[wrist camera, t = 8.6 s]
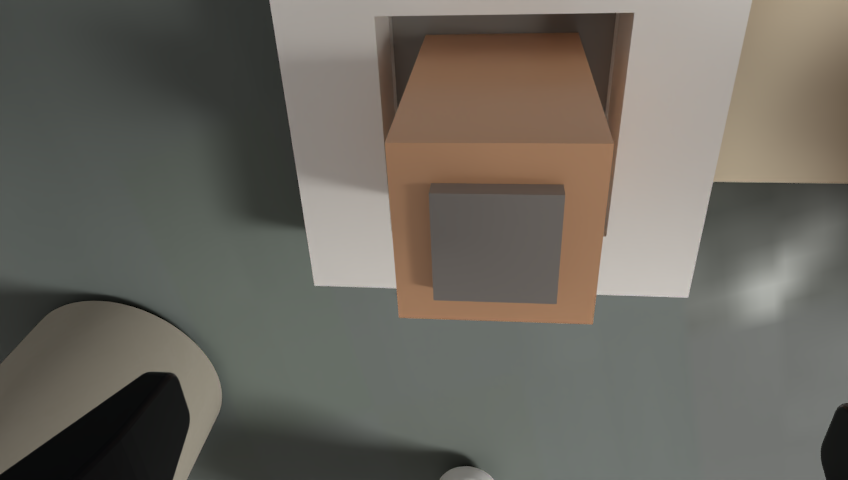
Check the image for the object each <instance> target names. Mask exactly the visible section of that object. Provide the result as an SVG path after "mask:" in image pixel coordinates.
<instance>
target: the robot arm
mask: <svg viewBox="0 0 848 480" xmlns="http://www.w3.org/2000/svg"><path fill="white" fill-rule="evenodd" d="M189 424H190V413H189V409H188V406H187V403H186V400H185V397H184V393H183V390H182V387H181V384H180V381H179V379H178V377H177V376H176V375H175V374H174V373H171V372H146V373H144V374H142V375H141V376H139V377H138V378H136V379H135V380H133V381H132V382H131V383H129V384H128V385H126V386H125V387H123V388H122V389H121V390H119V391H118V392H116V393H115V394H114V395H112V396H111V397H109V398H108V399H106V400H105V401H104V402H102V403H101V404H99V405H98V406H96V407H95V408H94V409H92V410H91V411H89V412H88V413H87V414H85V415H84V416H82V417H81V418H79V419H78V420H77V421H75V422H74V423H72V424H71V425H69V426H68V427H67V428H65V429H64V430H62V431H61V432H60V433H58V434H57V435H55V436H54V437H52V438H51V439H50V440H48V441H47V442H45V443H44V444H42V445H41V446H40V447H38V448H37V449H35V450H34V451H33V452H31V453H30V454H28V455H27V456H25V457H24V458H23V459H21V460H20V461H18V462H17V463H15V464H14V465H13V466H11V467H10V468H8V469H7V470H6V471H4V472H3V473H1V474H0V480H173V478H174V475H175V471H176V468H177V465H178V462H179V459H180V455H181V452H182V449H183V446H184V442H185V439H186V436H187V433H188V429H189ZM821 462H822V466H823V470H824V473H825V477H826V480H848V403H844V404H842V405H840V406H839V407H838V408H837V410H836V411H835V414H834V416H833V419H832V421H831V424H830V426H829V428H828V431H827V433H826V436H825V438H824V441H823V443H822V446H821Z"/></svg>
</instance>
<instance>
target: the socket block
mask: <svg viewBox="0 0 848 480" xmlns="http://www.w3.org/2000/svg"><path fill="white" fill-rule="evenodd" d="M269 1H270V7H271V13H272V20H273V26H274V32H275V39H276V45H277V51H278V57H279V64H280V70H281V76H282V83H283V89H284V95H285V102H286V108H287V114H288V121H289V127H290V133H291V140H292V146H293V152H294V158H295V165H296V171H297V177H298V184H299V190H300V196H301V203H302V209H303V215H304V222H305V228H306V234H307V240H308V247H309V253H310V259H311V266H312V272H313V278H314V285H315V286H343V287H374V288H397V287H396V275H395V263H394V250H393V238H392V226H391V214H390V201H389V189H388V177H387V165H386V152H385V141H386V138H387V135H388V133H389V130H390V128H391V125H392V122H393V120H394V117H395V114H396V112H397V109H398V106H399V104H400V101H401V99H402V96H403V93H404V91H405V88H406V85H407V83H408V80H409V78H410V75H411V72H412V70H413V67H414V64H415V62H416V59H417V56H418V54H419V51H420V49H421V46H422V43H423V41H424V38H425V35H449V34H516V33H579V36H580V39H581V42H582V46H583V49H584V52H585V55H586V58H587V61H588V64H589V67H590V70H591V73H592V76H593V80H594V83H595V86H596V89H597V92H598V95H599V98H600V101H601V104H602V107H603V111H604V114H605V117H606V120H607V123H608V126H609V129H610V132H611V135H612V138H613V141H614V150H613V158H612V167H611V175H610V183H609V192H608V200H607V209H606V217H605V226H604V234H603V242H602V251H601V259H600V268H599V276H598V285H597V293H596V295H624V296H655V297H687V298H688V295H689V291H690V286H691V281H692V277H693V272H694V268H695V263H696V258H697V254H698V249H699V244H700V240H701V235H702V231H703V226H704V221H705V217H706V212H707V207H708V203H709V198H710V194H711V189H712V184H713V180H714V175H715V170H716V166H717V161H718V157H719V152H720V147H721V143H722V138H723V133H724V129H725V124H726V120H727V115H728V110H729V106H730V101H731V96H732V92H733V87H734V83H735V78H736V73H737V69H738V64H739V59H740V55H741V50H742V46H743V41H744V36H745V32H746V27H747V22H748V18H749V13H750V9H751V4H752V0H269Z"/></svg>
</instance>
